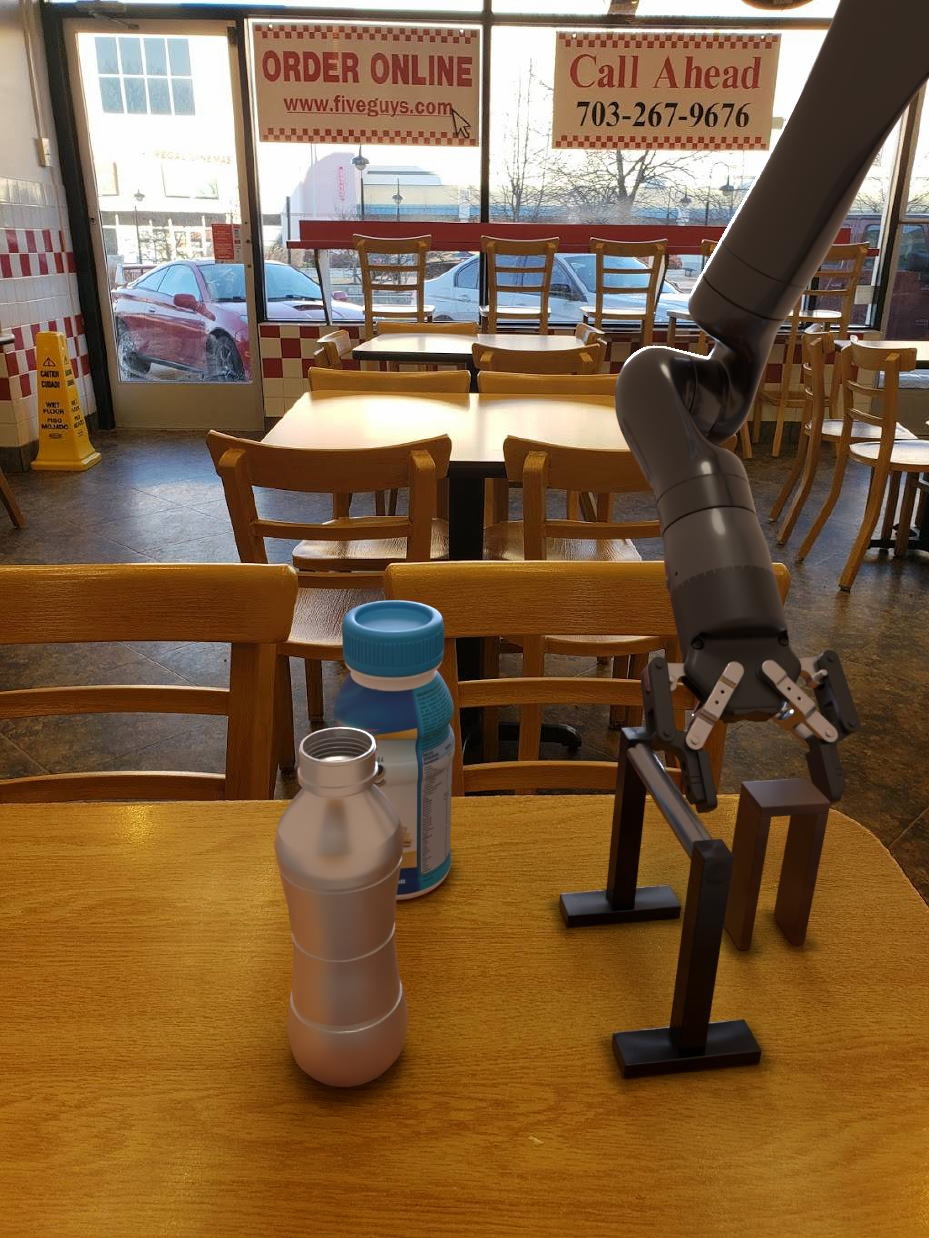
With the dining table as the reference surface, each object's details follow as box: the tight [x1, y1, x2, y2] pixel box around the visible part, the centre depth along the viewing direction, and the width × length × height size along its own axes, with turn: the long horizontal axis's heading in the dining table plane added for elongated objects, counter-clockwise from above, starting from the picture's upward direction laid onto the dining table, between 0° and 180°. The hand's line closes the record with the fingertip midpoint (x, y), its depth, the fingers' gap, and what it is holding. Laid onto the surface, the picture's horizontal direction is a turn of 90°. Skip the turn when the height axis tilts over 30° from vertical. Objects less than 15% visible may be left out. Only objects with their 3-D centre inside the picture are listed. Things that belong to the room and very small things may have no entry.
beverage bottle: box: [333, 599, 456, 901], centre depth 66 cm, size 8×8×20 cm
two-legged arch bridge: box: [724, 777, 831, 951], centre depth 61 cm, size 5×3×11 cm, turn 99°
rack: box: [558, 726, 763, 1079], centre depth 57 cm, size 8×15×14 cm, turn 8°
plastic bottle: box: [273, 726, 409, 1088], centre depth 49 cm, size 6×7×20 cm
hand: (769, 806), depth 62 cm, fingers open, 8 cm apart
